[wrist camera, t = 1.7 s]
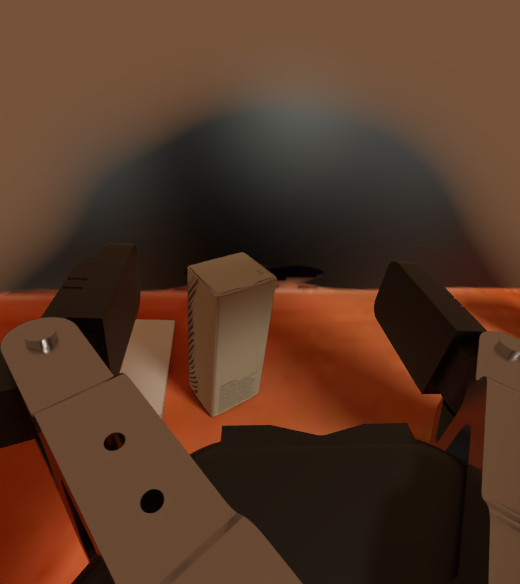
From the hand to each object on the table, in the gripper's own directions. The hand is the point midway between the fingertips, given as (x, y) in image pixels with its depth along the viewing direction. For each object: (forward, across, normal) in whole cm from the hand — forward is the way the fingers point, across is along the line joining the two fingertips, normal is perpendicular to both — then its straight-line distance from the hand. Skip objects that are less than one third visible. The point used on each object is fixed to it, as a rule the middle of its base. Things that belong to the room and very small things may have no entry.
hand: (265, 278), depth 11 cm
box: (+12, 0, +20) cm, 23 cm away
